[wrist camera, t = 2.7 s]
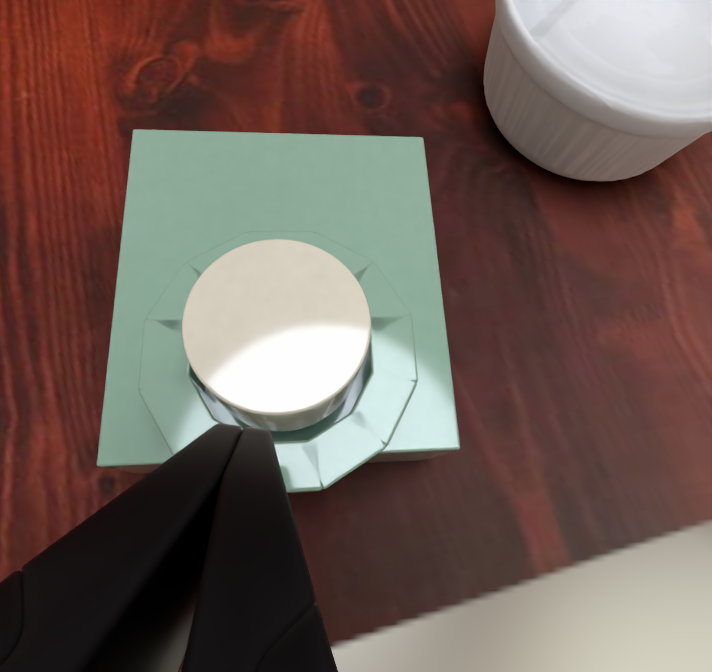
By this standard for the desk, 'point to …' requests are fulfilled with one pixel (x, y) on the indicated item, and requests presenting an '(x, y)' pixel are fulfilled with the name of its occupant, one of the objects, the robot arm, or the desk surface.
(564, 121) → the ramekin
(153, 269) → the button base
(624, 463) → the desk surface
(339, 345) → the cream cylindrical button
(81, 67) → the desk surface
